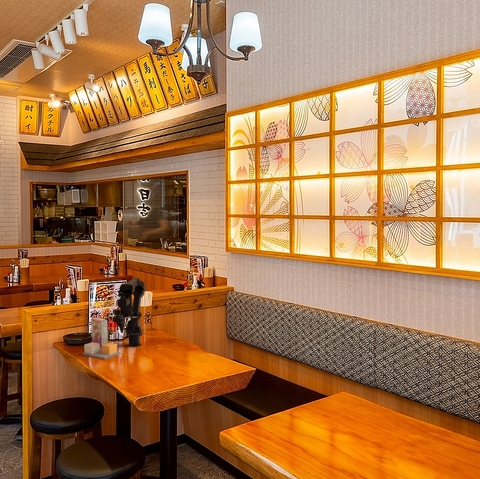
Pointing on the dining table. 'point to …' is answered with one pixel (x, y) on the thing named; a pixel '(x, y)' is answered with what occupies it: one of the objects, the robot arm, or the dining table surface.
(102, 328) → the candy bar box
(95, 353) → the board
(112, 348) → the light orange block
